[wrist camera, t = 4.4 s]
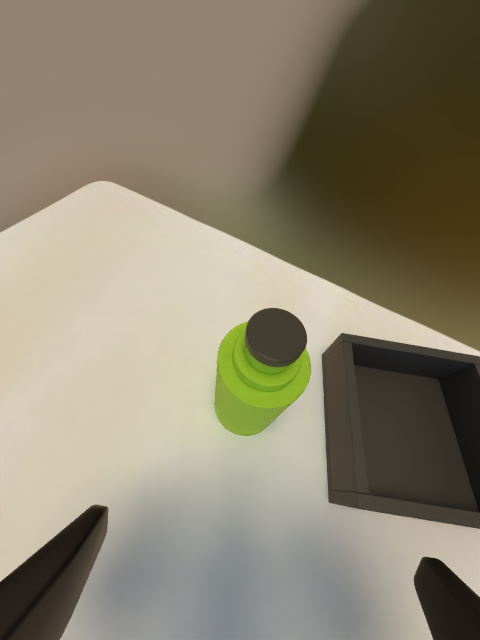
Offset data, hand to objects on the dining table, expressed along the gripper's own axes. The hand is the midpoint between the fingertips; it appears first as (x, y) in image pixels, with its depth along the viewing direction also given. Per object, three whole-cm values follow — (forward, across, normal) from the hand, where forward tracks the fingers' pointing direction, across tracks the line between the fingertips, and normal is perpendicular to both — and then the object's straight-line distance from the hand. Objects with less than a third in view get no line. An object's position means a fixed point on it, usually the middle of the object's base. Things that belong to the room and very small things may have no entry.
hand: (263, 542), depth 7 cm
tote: (+14, -13, +4) cm, 20 cm away
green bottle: (+14, 0, +4) cm, 15 cm away
